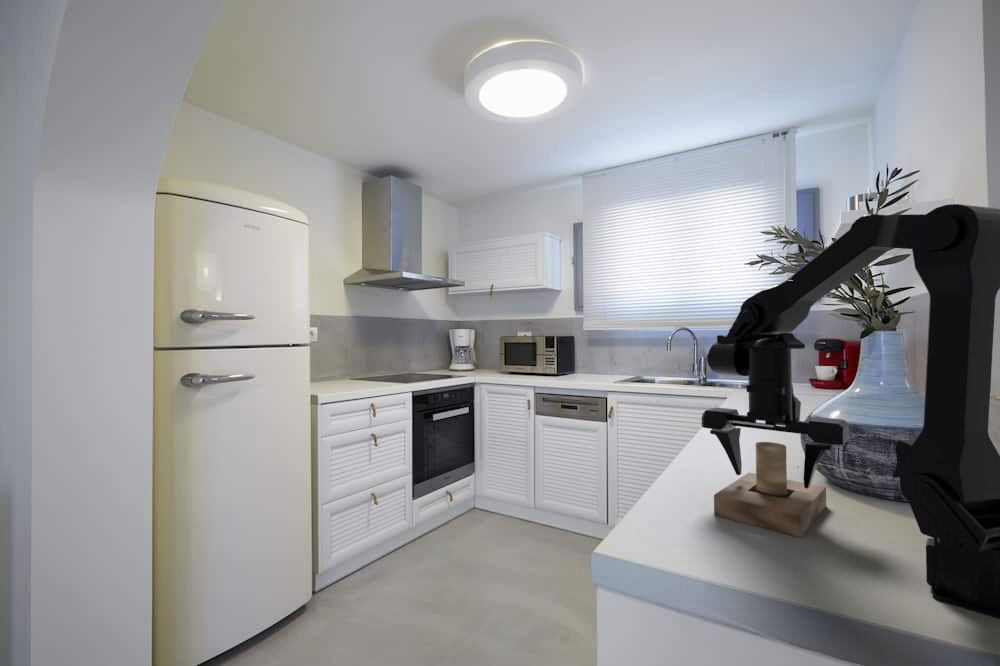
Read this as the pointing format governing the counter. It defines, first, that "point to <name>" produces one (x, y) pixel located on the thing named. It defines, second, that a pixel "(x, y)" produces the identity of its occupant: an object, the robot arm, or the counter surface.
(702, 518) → the counter surface
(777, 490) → the oak peg
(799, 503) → the walnut board
